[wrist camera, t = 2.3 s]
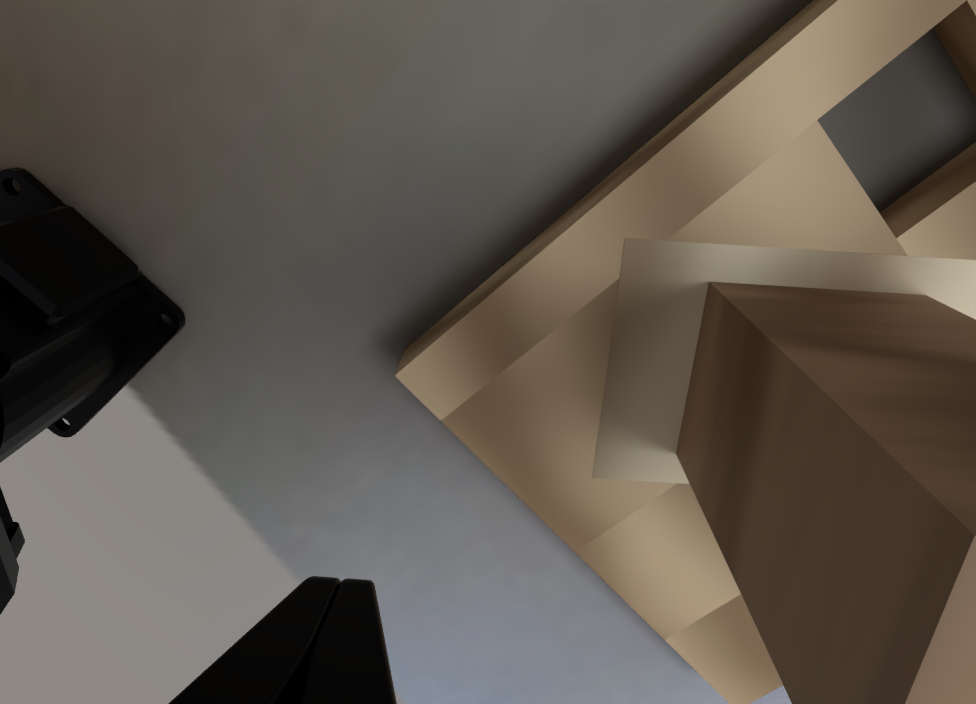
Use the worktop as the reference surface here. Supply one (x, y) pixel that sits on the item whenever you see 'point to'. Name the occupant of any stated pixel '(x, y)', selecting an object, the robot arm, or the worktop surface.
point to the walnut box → (842, 484)
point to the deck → (683, 287)
